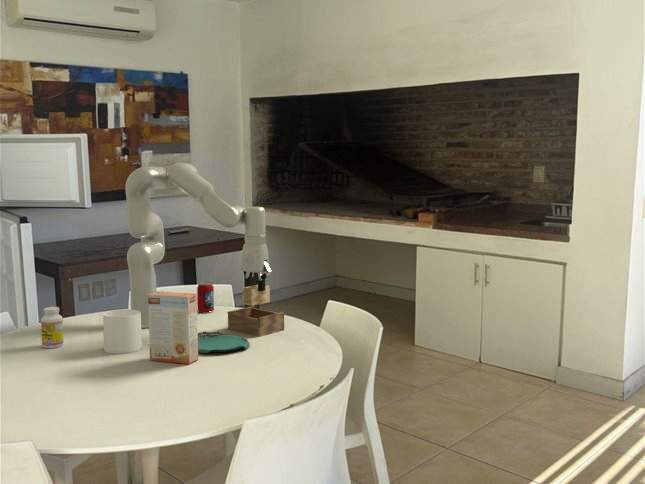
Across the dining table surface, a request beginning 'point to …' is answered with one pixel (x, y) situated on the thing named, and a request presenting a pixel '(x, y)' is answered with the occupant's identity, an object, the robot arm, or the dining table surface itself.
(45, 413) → the dining table surface
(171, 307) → the cracker box
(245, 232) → the robot arm
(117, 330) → the cup
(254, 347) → the dining table surface
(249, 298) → the oak crate
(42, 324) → the supplement bottle
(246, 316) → the walnut crate
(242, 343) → the cutlery set
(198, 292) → the beverage can
